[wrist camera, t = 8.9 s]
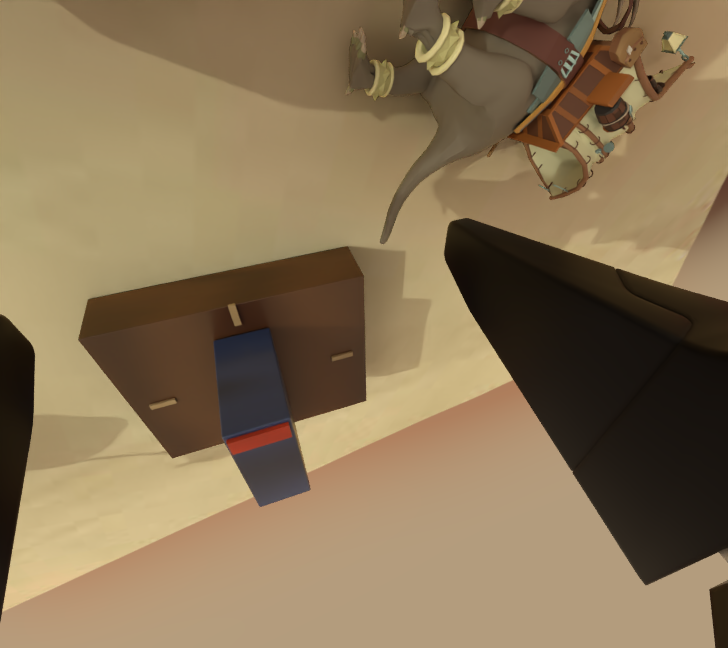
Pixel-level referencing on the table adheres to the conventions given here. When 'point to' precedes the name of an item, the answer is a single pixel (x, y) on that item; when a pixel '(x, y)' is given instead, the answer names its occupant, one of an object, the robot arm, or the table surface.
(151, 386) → the brown slab
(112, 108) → the table surface
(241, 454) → the blue block
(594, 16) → the figurine
